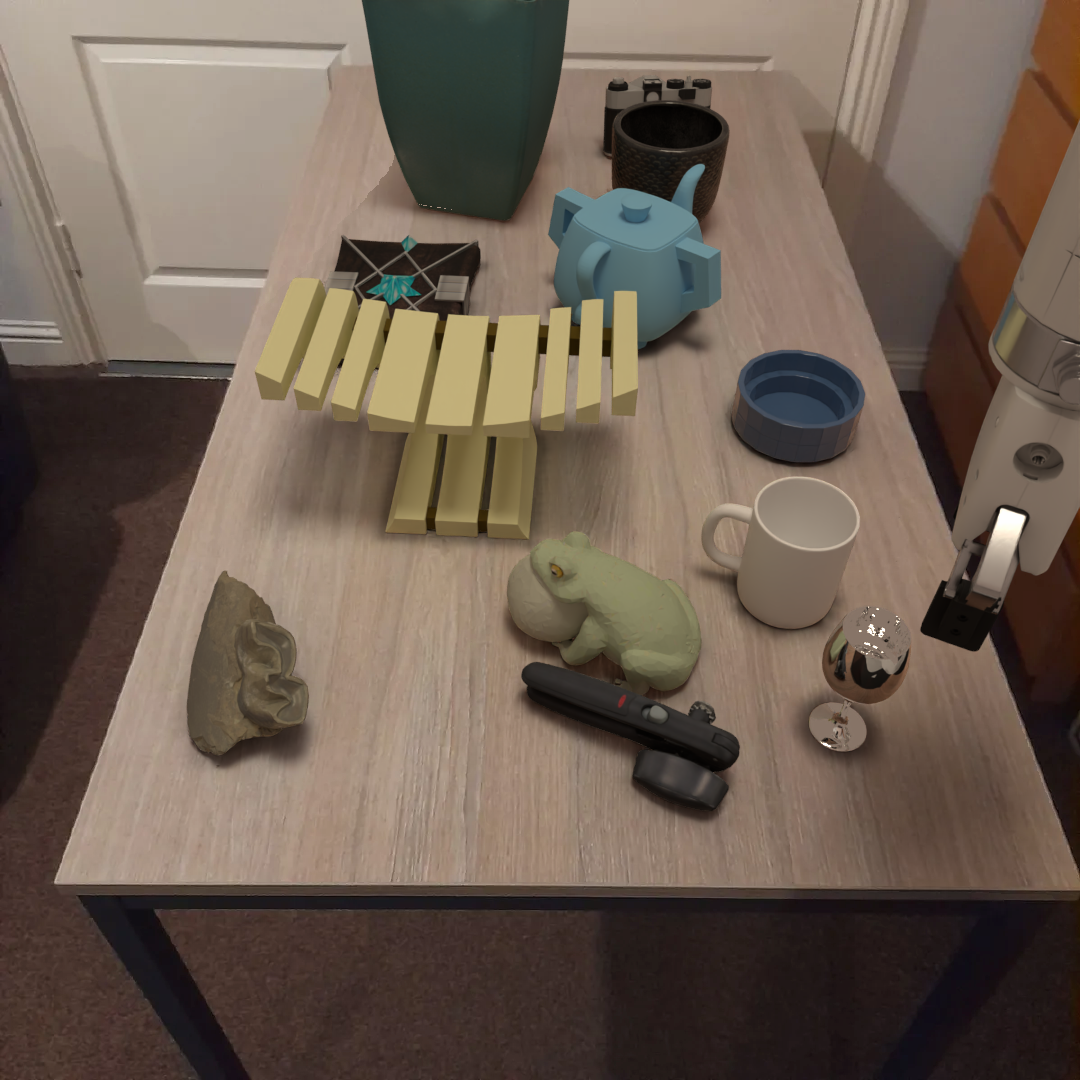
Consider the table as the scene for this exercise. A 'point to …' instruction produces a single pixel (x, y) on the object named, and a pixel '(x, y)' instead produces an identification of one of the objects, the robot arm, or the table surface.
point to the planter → (669, 150)
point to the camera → (650, 97)
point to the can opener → (645, 733)
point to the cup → (789, 549)
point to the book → (408, 274)
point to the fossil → (242, 672)
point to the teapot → (635, 255)
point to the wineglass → (860, 673)
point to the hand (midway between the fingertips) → (964, 579)
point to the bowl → (797, 405)
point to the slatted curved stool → (450, 392)
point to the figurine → (605, 612)
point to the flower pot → (467, 95)
